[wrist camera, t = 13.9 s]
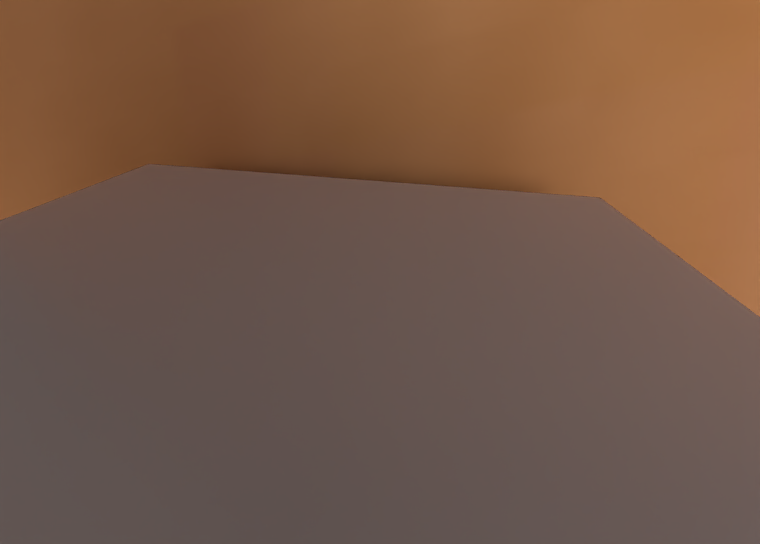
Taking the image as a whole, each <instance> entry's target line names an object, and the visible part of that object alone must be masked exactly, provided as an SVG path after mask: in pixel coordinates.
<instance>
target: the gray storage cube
mask: <svg viewBox="0 0 760 544" xmlns="http://www.w3.org/2000/svg"><path fill="white" fill-rule="evenodd" d="M0 544H760V317H759V316H757V315H756V314H755V313H753V312H752V311H751V310H749V309H748V308H747V307H745V306H744V305H743V304H741V303H740V302H739V301H737V300H736V299H735V298H733V297H732V296H731V295H729V294H728V293H727V292H725V291H724V290H723V289H721V288H720V287H719V286H717V285H716V284H715V283H713V282H712V281H711V280H709V279H708V278H707V277H705V276H704V275H703V274H701V273H700V272H699V271H697V270H696V269H695V268H693V267H692V266H691V265H689V264H688V263H687V262H685V261H684V260H683V259H681V258H680V257H679V256H677V255H676V254H675V253H673V252H672V251H671V250H669V249H668V248H667V247H665V246H664V245H663V244H661V243H660V242H659V241H657V240H656V239H655V238H653V237H652V236H651V235H649V234H648V233H647V232H645V231H644V230H643V229H641V228H640V227H639V226H637V225H636V224H635V223H633V222H632V221H631V220H629V219H628V218H626V217H625V216H624V215H622V214H621V213H620V212H618V211H617V210H616V209H614V208H613V207H612V206H610V205H609V204H608V203H606V202H605V201H604V200H602V199H601V198H598V197H585V196H572V195H558V194H545V193H531V192H518V191H505V190H491V189H478V188H465V187H451V186H438V185H424V184H411V183H398V182H384V181H371V180H357V179H344V178H331V177H317V176H304V175H291V174H277V173H264V172H250V171H237V170H224V169H210V168H197V167H184V166H170V165H157V164H147V165H145V166H142V167H139V168H137V169H134V170H132V171H129V172H126V173H124V174H121V175H118V176H116V177H113V178H111V179H108V180H105V181H103V182H100V183H97V184H95V185H92V186H90V187H87V188H84V189H82V190H79V191H76V192H74V193H71V194H69V195H66V196H63V197H61V198H58V199H55V200H53V201H50V202H48V203H45V204H42V205H40V206H37V207H34V208H32V209H29V210H27V211H24V212H21V213H19V214H16V215H13V216H11V217H8V218H6V219H3V220H0Z"/></svg>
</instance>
